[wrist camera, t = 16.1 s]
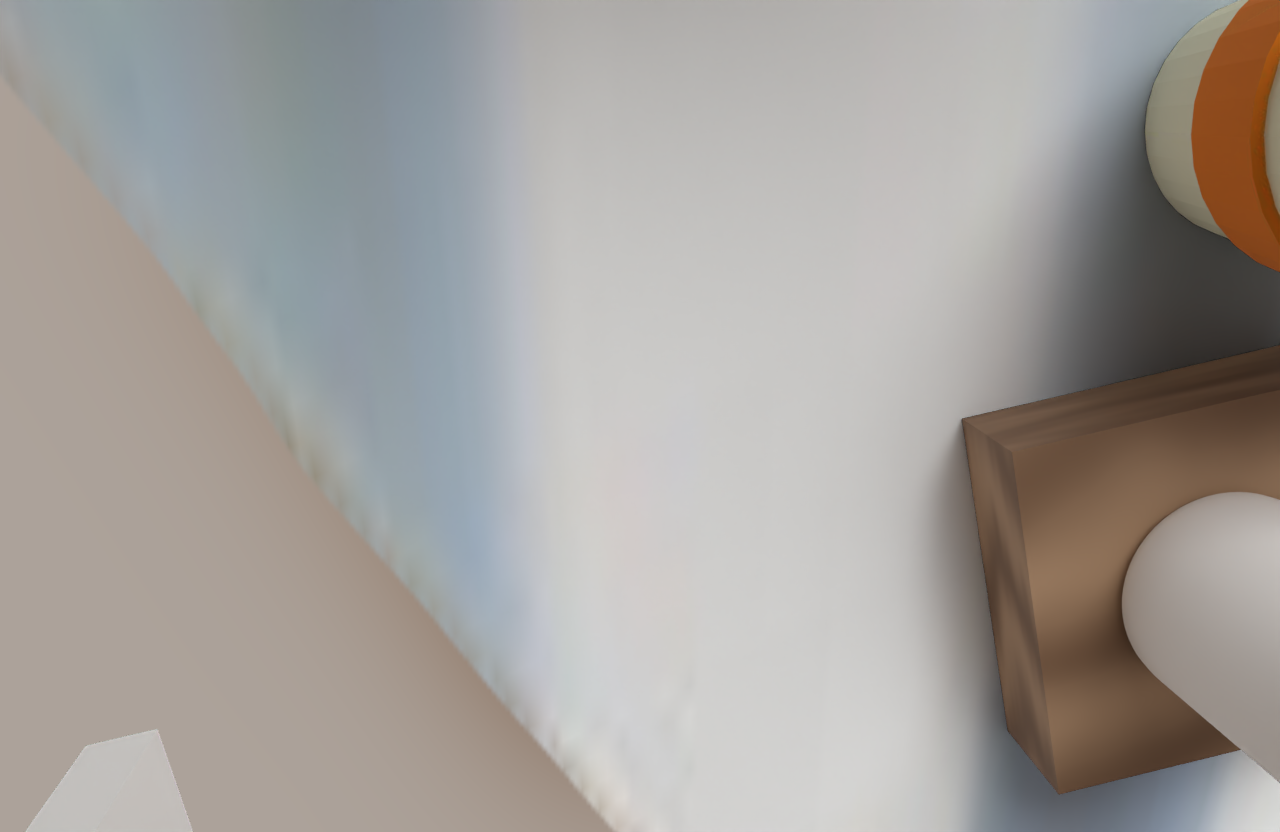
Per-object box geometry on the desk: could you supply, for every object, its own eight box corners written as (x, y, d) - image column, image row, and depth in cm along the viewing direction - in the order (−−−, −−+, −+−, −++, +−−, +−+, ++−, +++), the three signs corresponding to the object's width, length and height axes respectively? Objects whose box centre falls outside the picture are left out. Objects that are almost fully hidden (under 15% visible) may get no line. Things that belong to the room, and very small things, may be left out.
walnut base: (961, 418, 47) (1012, 452, 42) (1298, 340, 48) (1386, 364, 43) (1007, 730, 51) (1058, 794, 46) (1321, 654, 51) (1404, 709, 46)
